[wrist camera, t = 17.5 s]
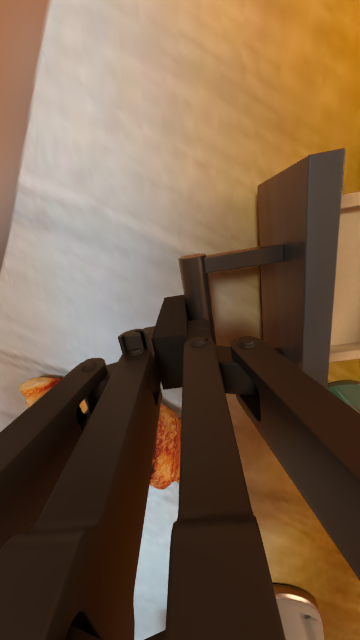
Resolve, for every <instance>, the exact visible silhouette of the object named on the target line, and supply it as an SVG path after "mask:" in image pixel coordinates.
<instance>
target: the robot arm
mask: <svg viewBox="0 0 360 640" xmlns="http://www.w3.org/2000/svg"><path fill="white" fill-rule="evenodd" d="M118 340H119V343H120V346H121V350H122V353H123V354H122V356H121V358H120V359H119V361H118V362H116V363H113V364H109V365H106V364H105V360H104V359H102V358H91V359H88V360H86V361H84V362H82V363H80V364H79V365H78V366H76V367H75V368H74V369H73V370H72V371H71V372H69V373H68V374H67V375H66V376H65V377H64V378H62V379H61V380H60V381H59V382H58V383H57V384H56V385H54V386H53V387H52V388H51V389H50V390H49V391H47V392H46V393H45V394H44V395H43V396H42V397H41V398H39V399H38V400H37V401H36V402H35V403H34V404H32V405H31V406H30V407H29V408H28V409H27V410H26V411H24V412H23V413H22V414H21V415H20V416H19V417H18V418H16V419H15V420H14V421H13V422H12V423H11V424H9V425H8V426H7V427H6V428H5V429H4V430H3V431H1V432H0V640H134V625H135V622H134V607H133V597H134V586H135V579H136V572H137V565H138V558H139V551H140V544H141V538H142V531H143V524H144V517H145V510H146V503H147V496H148V489H149V483H150V476H151V469H152V462H153V455H154V448H155V441H156V434H157V428H158V421H159V414H160V407H161V400H162V393H161V389H160V384H161V383H162V387H163V390H164V389H172V388H180V387H182V417H181V448H180V480H179V509H178V518H177V521H175V522H174V523H173V528H172V533H171V544H170V560H169V578H168V596H167V615H166V630H164V631H162V632H160V633H158V634H155V635H153V636H151V637H149V638H147V639H144V640H324V632H323V625H322V620H321V616H320V613H319V610H318V607H317V604H316V601H315V599H314V598H313V597H312V596H311V595H310V594H308V593H307V592H305V591H303V590H301V589H298V588H295V587H292V586H286V585H277V584H272V580H271V575H270V571H269V567H268V563H267V559H266V554H265V550H264V546H263V542H262V538H261V534H260V530H259V526H258V523H257V520H256V517H255V516H254V515H253V512H252V508H251V504H250V500H249V495H248V491H247V486H246V482H245V478H244V473H243V469H242V464H241V460H240V456H239V451H238V447H237V443H236V438H235V434H234V429H233V425H232V421H231V416H230V412H229V407H228V403H227V399H226V394H225V393H229V394H236V398H237V400H238V402H239V403H240V405H241V406H242V408H243V409H244V411H245V412H246V414H247V415H248V416H249V418H250V419H251V421H252V422H253V424H254V425H255V427H256V428H257V430H258V431H259V433H260V434H261V436H262V437H263V439H264V440H265V442H266V443H267V445H268V446H269V447H270V449H271V450H272V452H273V453H274V455H275V456H276V458H277V459H278V461H279V462H280V464H281V465H282V467H283V468H284V470H285V471H286V473H287V474H288V475H289V477H290V478H291V480H292V481H293V483H294V484H295V486H296V487H297V489H298V490H299V492H300V493H301V495H302V496H303V498H304V499H305V501H306V502H307V504H308V505H309V506H310V508H311V509H312V511H313V512H314V514H315V515H316V517H317V518H318V520H319V521H320V523H321V524H322V526H323V527H324V529H325V530H326V532H327V533H328V534H329V536H330V537H331V539H332V540H333V542H334V543H335V545H336V546H337V548H338V549H339V551H340V552H341V554H342V555H343V557H344V558H345V560H346V561H347V562H348V564H349V565H350V567H351V568H352V570H353V571H354V573H355V574H356V576H357V577H358V579H359V580H360V414H359V413H358V412H357V411H355V410H354V409H353V408H351V407H350V406H349V405H347V404H346V403H345V402H343V401H342V400H341V399H339V398H338V397H337V396H335V395H334V394H333V393H331V392H330V391H329V390H327V389H326V388H325V387H323V386H322V385H321V384H320V383H318V382H317V381H316V380H314V379H313V378H312V377H310V376H309V375H308V374H306V373H305V372H304V371H302V370H301V369H300V368H298V367H297V366H296V365H294V364H293V363H292V362H290V361H289V360H288V359H286V358H285V357H284V356H282V355H281V354H280V353H279V352H277V351H276V350H275V349H273V348H272V347H271V346H269V345H268V344H267V343H265V342H264V341H263V340H261V339H259V338H256V337H252V336H244V337H240V338H237V339H235V340H233V341H232V342H231V347H223V346H218V345H216V344H215V343H214V342H213V340H212V337H211V333H210V328H209V324H208V321H207V320H205V319H197V320H191V321H188V315H187V309H186V303H185V297H184V295H179V296H173V297H167V298H164V301H163V304H162V307H161V310H160V313H159V317H158V320H157V323H156V326H154V327H147V328H144V329H134V330H130V331H127V332H124V333H123V334H121V335H120V336H119V337H118ZM83 400H85V403H86V405H87V408H88V409H87V410H86V411H85V412H84V413H83V412H82V410H81V408H80V404H81V402H82V401H83Z"/></svg>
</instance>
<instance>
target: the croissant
mask: <svg viewBox="0 0 360 640" xmlns="http://www.w3.org/2000/svg"><path fill="white" fill-rule="evenodd" d="M59 381H60V379H58V378H47V377H39V378H34V379H30V380H29V381H27V382H25V383H23V384H21V387H20V391H21V393H22V394H23V395H24V396H26V403H27V405H28V408H29V407H30V406H31V405H32V404H34V403H35V402H36V401H37V400H38V399H39V398H41V397H42V396H43V395H44V394H45V393H46V392H47V391H49V390H50V389H51V388H52V387H53V386H54V385H56V384H57V383H58V382H59ZM80 408H81V410H82V412H83V413H84V412H85V411H86V410H87V409H88V408H87V405H86V403H85V400H83V401H82V402H81V404H80ZM180 448H181V419H180V418H179V417H178V416H177V414H176V413H175V412H174V411H173V410H171V409H170V408H168V407H167V406H165V405H163V404H162V403H161V407H160V414H159V421H158V428H157V434H156V441H155V448H154V455H153V462H152V469H151V476H150V483H149V484H150V485H151V486H153V487H155V488H157V489H165V488H166V487H168V486H169V485H170V484H171V482H174V481H177V482H178V483H179V480H180Z"/></svg>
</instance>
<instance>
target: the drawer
mask: <svg viewBox="0 0 360 640" xmlns="http://www.w3.org/2000/svg"><path fill="white" fill-rule="evenodd" d="M344 161H345V149H344V148H343V149H338V150H332V151H327V152H322V153H317V154H312V155H309V156H307V157H305V158H304V159H302V160H300V161H299V162H297V163H295V164H294V165H292V166H290V167H289V168H287V169H285V170H283V171H282V172H280V173H278V174H277V175H275V176H273V177H272V178H270V179H268V180H267V181H265V182H263V183H262V184H260V185H258V209H259V236H260V247H256V248H250V249H244V250H238V251H232V252H225V253H219V254H213V255H207V256H206V254H193V255H187V256H183V257H180V258H179V265H180V272H181V278H182V284H183V290H184V297H185V303H186V309H187V315H188V321H191V320H197V319H205V320H207V321H208V324H209V328H210V333H211V337H212V340H213V342H214V343H215V344H216V335H215V327H214V318H213V310H212V301H211V293H210V285H209V276H208V273H213V272H219V271H226V270H232V269H238V268H245V267H251V266H258V265H261V288H262V315H263V341H264V342H265V343H267V344H268V345H269V346H271V347H272V348H273V349H275V350H276V351H277V352H279V353H280V354H281V355H282V356H284V357H285V358H286V359H288V360H289V361H290V362H292V363H293V364H294V365H296V366H297V367H298V368H300V369H301V370H302V371H304V372H305V373H306V374H308V375H309V376H310V377H312V378H313V379H314V380H316V381H317V382H318V383H320V384H321V385H322V386H323V387H325V388H326V389H327V383H328V370H329V362H336V361H344V360H352V359H360V191H359V192H353V193H347V194H342V187H343V174H344ZM216 345H217V344H216Z"/></svg>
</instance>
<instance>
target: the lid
mask: <svg viewBox="0 0 360 640" xmlns="http://www.w3.org/2000/svg"><path fill="white" fill-rule="evenodd" d="M327 390H329V391H330V392H331V393H333V394H334V395H335V396H337V397H338V398H339V399H341V400H342V401H343V402H345V403H346V404H347V405H349V406H350V407H351V408H353V409H354V410H355V411H357V412H358V413H359V414H360V382H358V381H337V382H333V383H329V384H327Z"/></svg>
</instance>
